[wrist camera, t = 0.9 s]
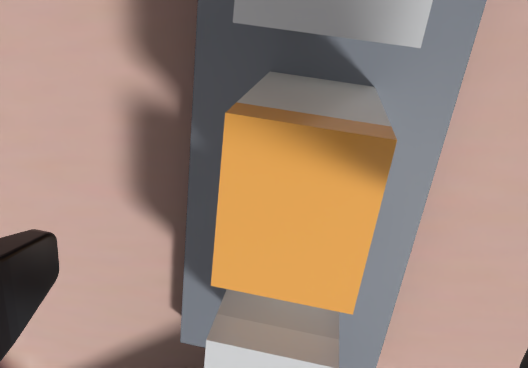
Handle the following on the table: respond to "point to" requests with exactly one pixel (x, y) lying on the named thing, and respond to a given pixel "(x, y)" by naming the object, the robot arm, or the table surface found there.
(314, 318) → the block
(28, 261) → the robot arm
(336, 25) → the block
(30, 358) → the table surface
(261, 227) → the block
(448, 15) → the board
